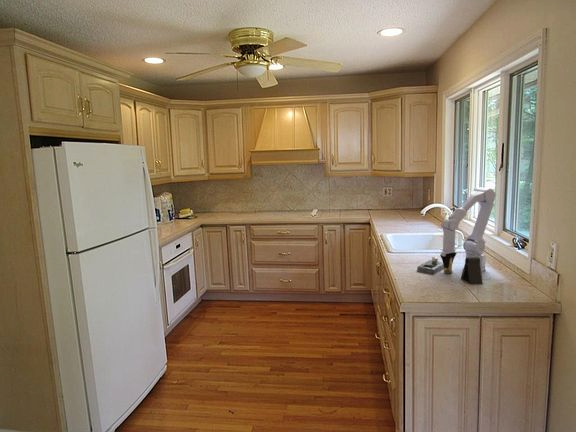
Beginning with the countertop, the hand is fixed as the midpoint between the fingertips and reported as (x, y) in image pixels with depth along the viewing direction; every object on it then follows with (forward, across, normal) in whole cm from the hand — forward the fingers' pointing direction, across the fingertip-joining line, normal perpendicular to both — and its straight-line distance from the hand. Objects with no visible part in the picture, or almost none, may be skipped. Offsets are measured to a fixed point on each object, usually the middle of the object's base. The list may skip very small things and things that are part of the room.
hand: (447, 266), depth 207 cm
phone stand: (+3, +6, +14) cm, 16 cm away
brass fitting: (+3, 0, 0) cm, 3 cm away
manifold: (+3, -1, -9) cm, 10 cm away
